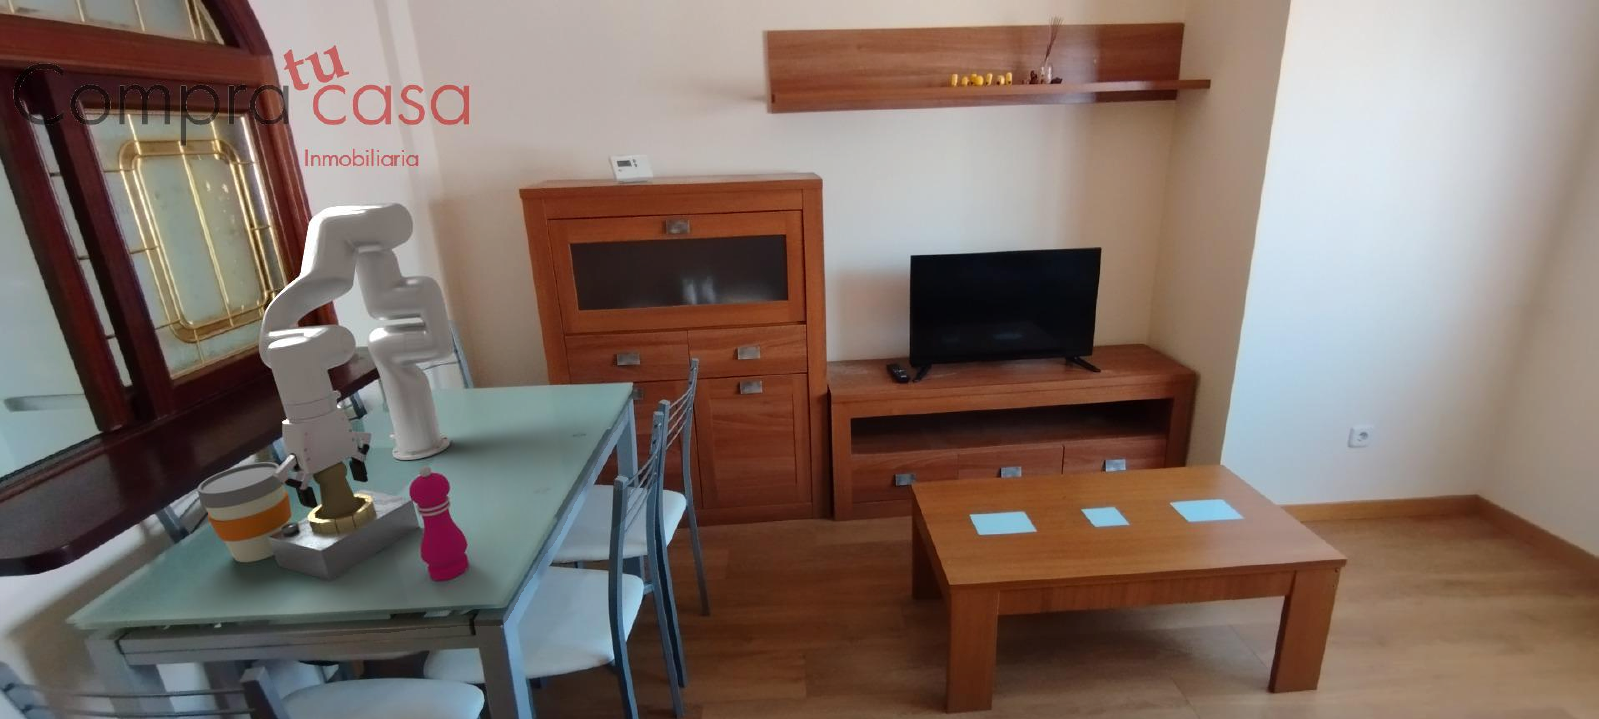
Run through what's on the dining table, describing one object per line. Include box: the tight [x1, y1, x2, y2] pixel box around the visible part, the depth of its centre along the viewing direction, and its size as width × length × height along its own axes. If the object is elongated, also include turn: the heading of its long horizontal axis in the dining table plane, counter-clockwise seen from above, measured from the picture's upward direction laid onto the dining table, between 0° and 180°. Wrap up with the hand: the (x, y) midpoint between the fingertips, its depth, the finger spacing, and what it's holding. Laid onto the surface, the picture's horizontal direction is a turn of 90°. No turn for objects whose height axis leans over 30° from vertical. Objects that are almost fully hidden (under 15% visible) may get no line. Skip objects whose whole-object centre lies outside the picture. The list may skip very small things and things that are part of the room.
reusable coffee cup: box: [197, 461, 292, 563], centre depth 129 cm, size 12×13×15 cm
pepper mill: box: [408, 466, 470, 582], centre depth 118 cm, size 7×7×20 cm
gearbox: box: [269, 488, 420, 581], centre depth 129 cm, size 14×18×8 cm
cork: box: [312, 461, 360, 520], centre depth 127 cm, size 6×6×11 cm
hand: (336, 493), depth 127 cm, fingers open, 9 cm apart
